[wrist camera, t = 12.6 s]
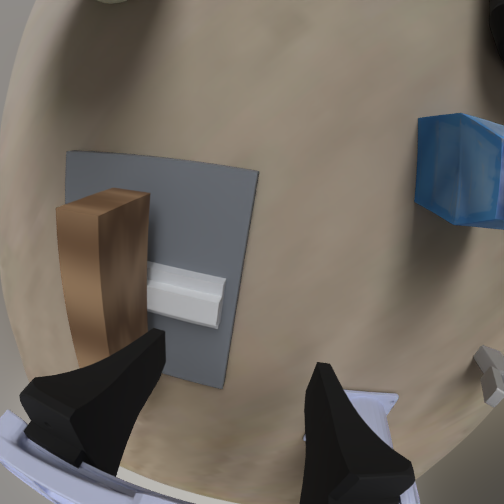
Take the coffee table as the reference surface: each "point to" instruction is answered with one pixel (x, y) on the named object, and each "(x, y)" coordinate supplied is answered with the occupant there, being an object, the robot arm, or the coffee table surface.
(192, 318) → the ridge stand
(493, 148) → the perfume bottle
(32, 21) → the coffee table surface
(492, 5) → the portable speaker
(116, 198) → the walnut bar
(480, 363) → the grey angular piece
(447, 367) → the coffee table surface
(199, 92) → the coffee table surface
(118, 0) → the reusable coffee cup
